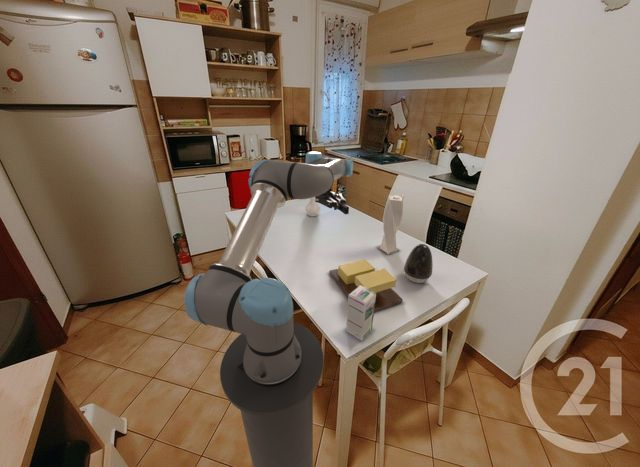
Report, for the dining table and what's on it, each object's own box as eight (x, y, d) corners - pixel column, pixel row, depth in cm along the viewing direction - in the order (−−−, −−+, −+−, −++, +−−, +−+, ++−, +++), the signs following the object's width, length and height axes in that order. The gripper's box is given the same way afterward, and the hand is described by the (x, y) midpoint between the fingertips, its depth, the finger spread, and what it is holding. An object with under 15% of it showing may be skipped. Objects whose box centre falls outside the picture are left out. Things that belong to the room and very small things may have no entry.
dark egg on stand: (404, 285, 99) (411, 251, 92) (400, 269, 108) (406, 237, 101) (432, 288, 98) (442, 253, 91) (426, 271, 107) (434, 239, 100)
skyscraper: (401, 251, 120) (411, 193, 107) (388, 256, 117) (397, 197, 104) (388, 244, 127) (396, 188, 114) (375, 248, 123) (382, 191, 110)
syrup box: (361, 341, 76) (366, 303, 69) (345, 330, 79) (348, 293, 73) (372, 329, 80) (377, 292, 73) (355, 320, 83) (359, 283, 77)
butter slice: (365, 296, 85) (366, 288, 84) (354, 283, 91) (355, 276, 89) (395, 286, 89) (396, 279, 88) (383, 275, 95) (384, 268, 94)
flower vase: (310, 222, 147) (310, 178, 135) (297, 211, 162) (296, 170, 150) (330, 218, 152) (332, 176, 141) (316, 207, 167) (317, 168, 155)
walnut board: (362, 316, 85) (363, 312, 84) (329, 273, 105) (329, 270, 104) (402, 302, 91) (402, 299, 90) (363, 264, 111) (363, 261, 110)
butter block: (346, 284, 97) (347, 276, 95) (337, 274, 102) (338, 265, 100) (373, 276, 101) (375, 268, 99) (364, 267, 107) (364, 259, 105)
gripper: (334, 198, 123) (360, 217, 104) (308, 201, 118) (331, 222, 99) (334, 182, 119) (362, 199, 100) (308, 185, 115) (332, 204, 96)
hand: (347, 210), depth 100 cm, fingers closed
